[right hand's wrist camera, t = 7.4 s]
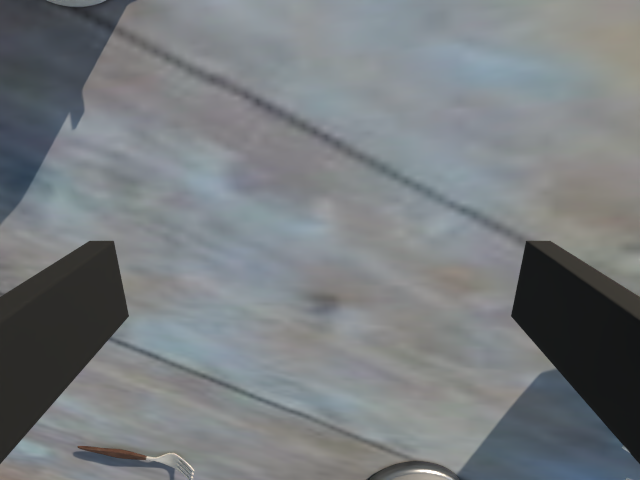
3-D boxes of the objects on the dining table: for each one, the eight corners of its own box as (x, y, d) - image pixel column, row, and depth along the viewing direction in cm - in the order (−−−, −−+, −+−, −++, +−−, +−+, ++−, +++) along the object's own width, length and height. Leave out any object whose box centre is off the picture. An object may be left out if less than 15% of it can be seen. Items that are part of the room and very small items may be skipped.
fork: (80, 436, 52) (71, 449, 50) (198, 456, 53) (194, 469, 51) (79, 450, 52) (70, 463, 51) (196, 470, 54) (192, 483, 52)
